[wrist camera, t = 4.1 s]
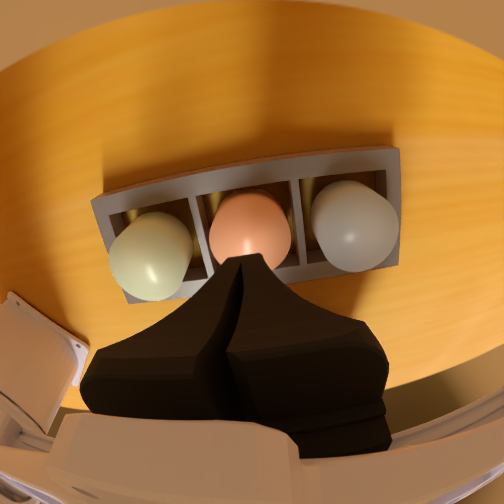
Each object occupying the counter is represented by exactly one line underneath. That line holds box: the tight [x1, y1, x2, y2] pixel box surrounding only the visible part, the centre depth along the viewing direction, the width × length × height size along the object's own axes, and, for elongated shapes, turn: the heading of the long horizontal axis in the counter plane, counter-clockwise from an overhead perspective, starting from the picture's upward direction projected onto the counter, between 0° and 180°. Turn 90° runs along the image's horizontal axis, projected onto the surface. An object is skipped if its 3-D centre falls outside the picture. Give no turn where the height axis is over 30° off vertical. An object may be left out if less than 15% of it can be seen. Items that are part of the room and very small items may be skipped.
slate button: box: [310, 180, 399, 272], centre depth 14 cm, size 4×4×3 cm
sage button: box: [109, 211, 193, 301], centre depth 15 cm, size 4×4×3 cm
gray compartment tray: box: [90, 145, 401, 304], centre depth 16 cm, size 17×7×2 cm, turn 100°
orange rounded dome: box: [209, 188, 291, 270], centre depth 15 cm, size 4×4×3 cm
